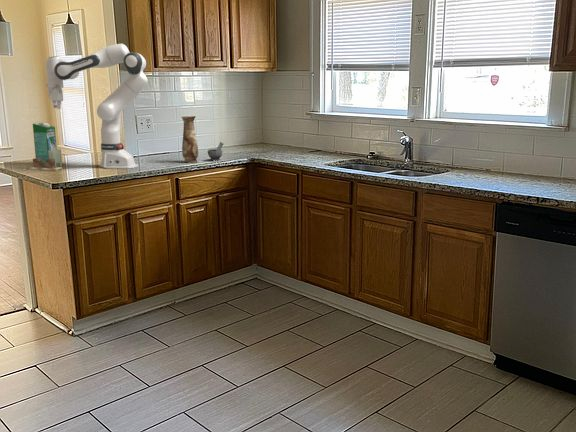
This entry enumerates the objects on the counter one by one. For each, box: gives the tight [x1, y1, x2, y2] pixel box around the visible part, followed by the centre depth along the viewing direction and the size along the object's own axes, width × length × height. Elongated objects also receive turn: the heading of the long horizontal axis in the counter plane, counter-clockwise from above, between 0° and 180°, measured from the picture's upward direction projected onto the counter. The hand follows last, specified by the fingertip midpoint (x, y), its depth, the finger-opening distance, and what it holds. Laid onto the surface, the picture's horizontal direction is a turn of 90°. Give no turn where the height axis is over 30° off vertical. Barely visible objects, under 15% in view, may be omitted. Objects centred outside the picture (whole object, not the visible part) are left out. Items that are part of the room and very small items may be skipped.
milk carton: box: [32, 122, 58, 163], centre depth 352 cm, size 9×9×25 cm
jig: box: [26, 157, 63, 171], centre depth 334 cm, size 18×7×6 cm, turn 82°
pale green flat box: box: [48, 148, 63, 167], centre depth 342 cm, size 9×3×10 cm, turn 172°
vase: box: [180, 114, 199, 163], centre depth 368 cm, size 10×11×30 cm
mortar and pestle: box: [207, 141, 224, 161], centre depth 379 cm, size 11×9×12 cm
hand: (57, 108), depth 341 cm, fingers open, 8 cm apart
